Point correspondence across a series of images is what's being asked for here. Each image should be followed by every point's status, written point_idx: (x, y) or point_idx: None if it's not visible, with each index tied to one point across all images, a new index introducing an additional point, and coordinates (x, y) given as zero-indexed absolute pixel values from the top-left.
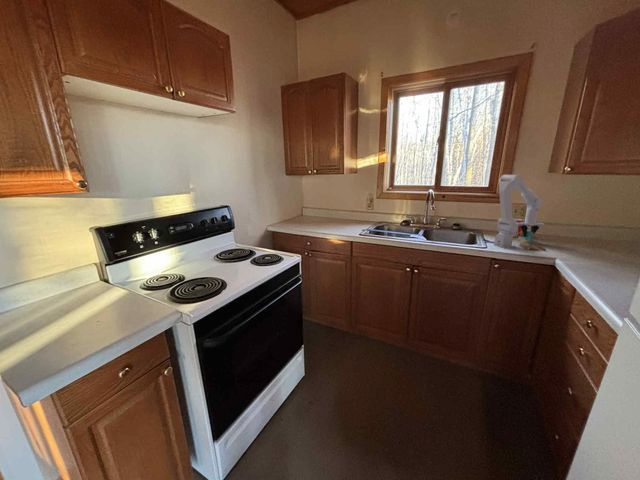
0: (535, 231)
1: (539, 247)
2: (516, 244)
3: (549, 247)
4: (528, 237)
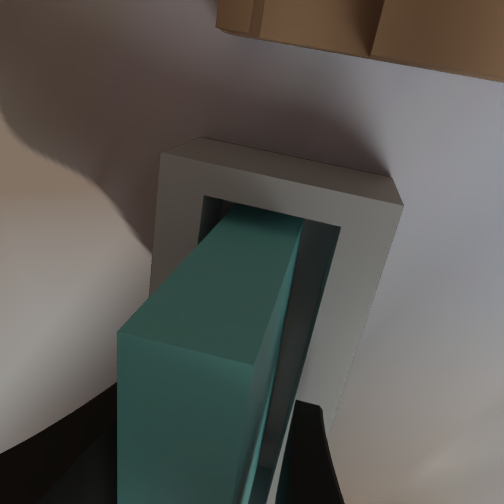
0: (5, 465)
1: None
2: (500, 286)
3: (16, 48)
4: (276, 331)
